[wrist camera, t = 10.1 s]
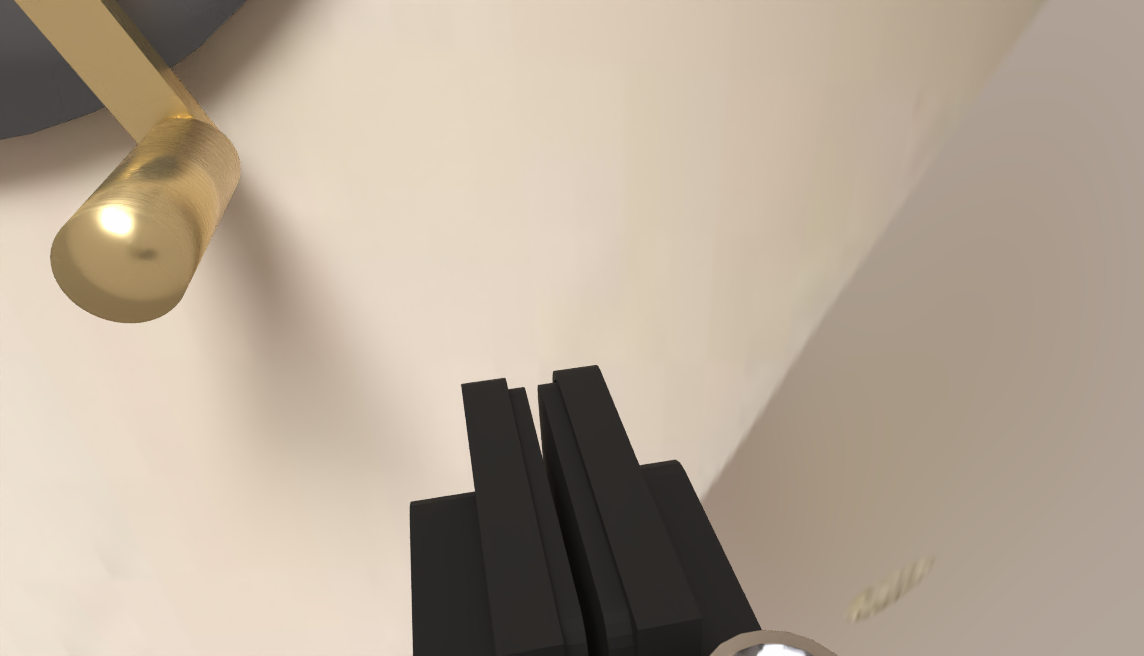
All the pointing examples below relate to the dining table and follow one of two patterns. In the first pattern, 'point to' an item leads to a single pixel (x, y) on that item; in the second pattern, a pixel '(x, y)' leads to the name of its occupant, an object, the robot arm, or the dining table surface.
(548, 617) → the robot arm
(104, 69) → the brass crank handle
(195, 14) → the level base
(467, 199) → the dining table surface
